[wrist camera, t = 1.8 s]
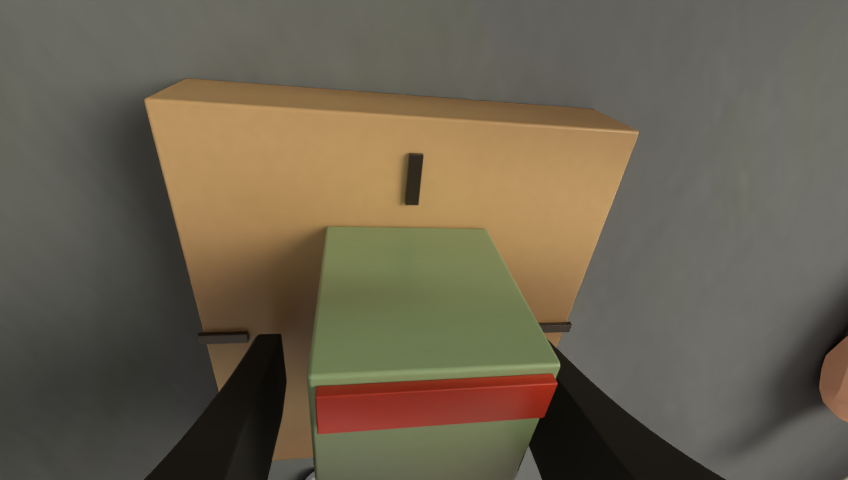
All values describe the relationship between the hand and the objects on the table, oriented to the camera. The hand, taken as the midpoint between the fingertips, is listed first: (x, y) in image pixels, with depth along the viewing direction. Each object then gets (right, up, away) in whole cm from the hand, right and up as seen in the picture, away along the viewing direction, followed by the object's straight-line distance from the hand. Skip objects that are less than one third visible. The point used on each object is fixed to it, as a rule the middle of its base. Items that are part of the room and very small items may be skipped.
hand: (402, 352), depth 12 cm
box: (0, +1, +1) cm, 1 cm away
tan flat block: (0, +2, +3) cm, 3 cm away
